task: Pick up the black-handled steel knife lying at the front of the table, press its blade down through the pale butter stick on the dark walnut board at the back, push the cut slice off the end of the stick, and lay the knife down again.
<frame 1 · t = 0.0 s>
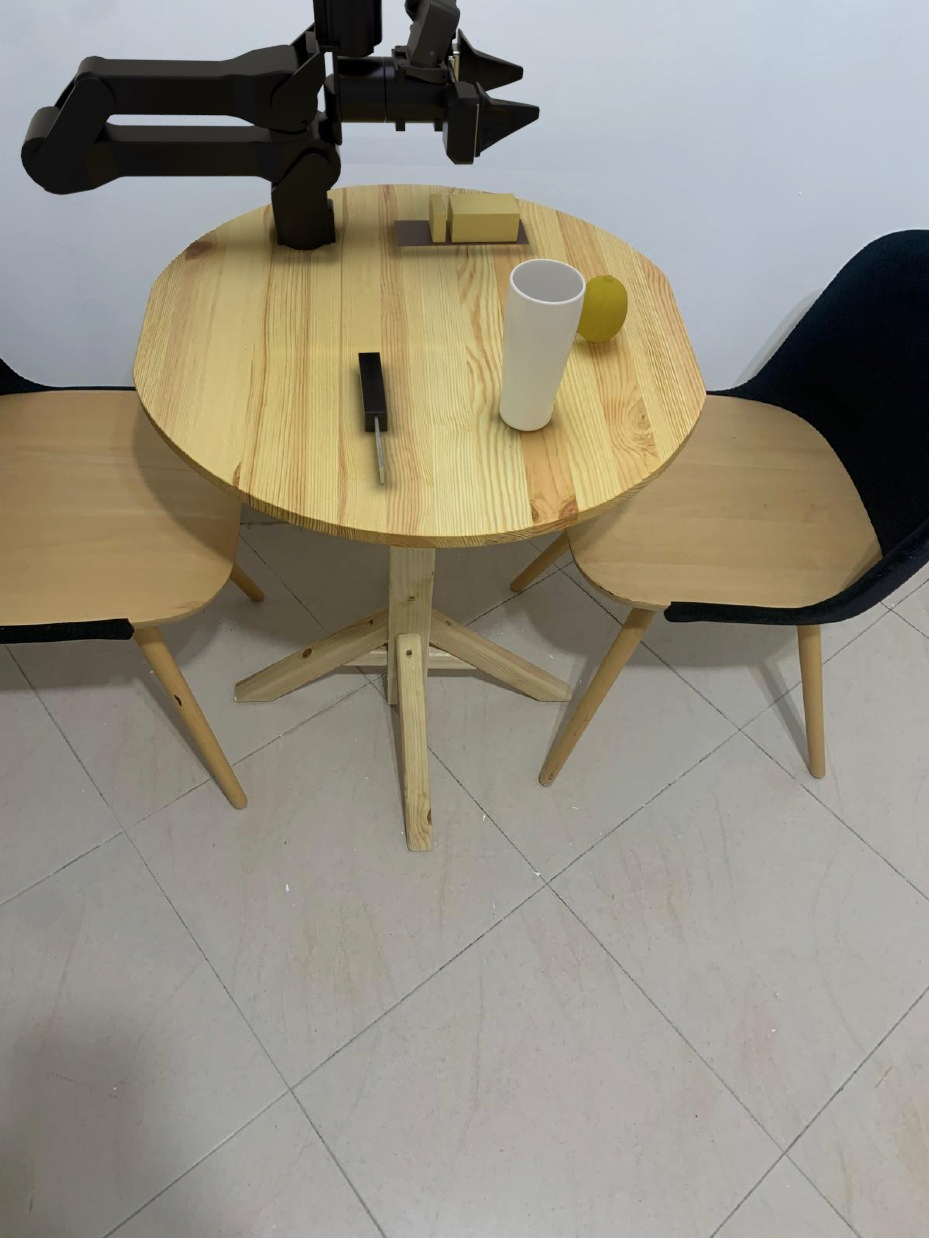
hand: (530, 92, 82), 17 cm above the table, tool horizontal, fingers open, 9 cm apart
butter stick: (481, 232, 95), point 1 cm above the table, touching board
knife: (381, 472, 73), on the table
drinking glass: (524, 417, 78), on the table
butter slice: (436, 232, 94), point 1 cm above the table, touching board
lemon: (592, 343, 86), on the table
board: (460, 240, 95), on the table
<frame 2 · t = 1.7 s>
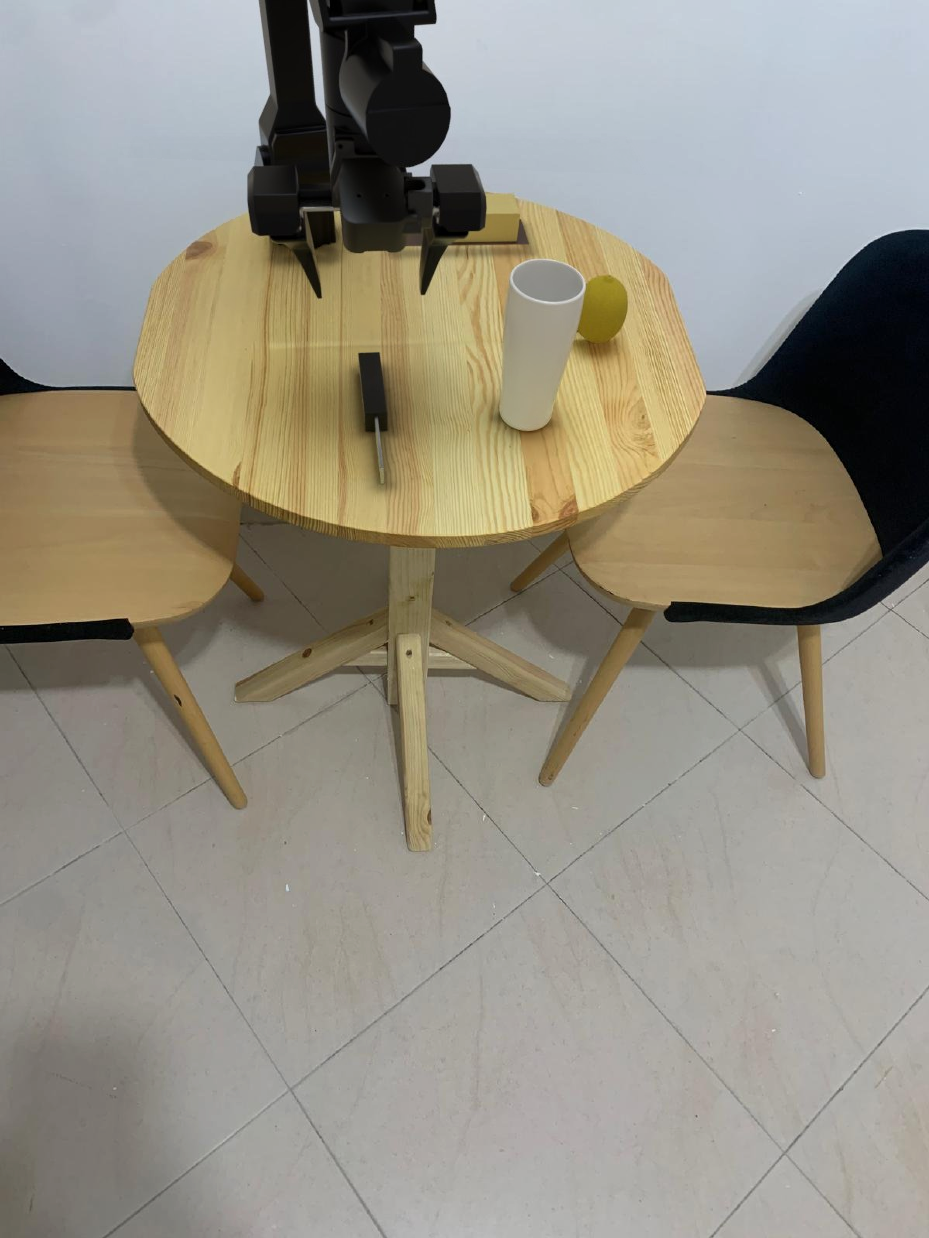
hand: (371, 294, 69), 11 cm above the table, tool pointing down, fingers open, 9 cm apart
nothing on the table moved.
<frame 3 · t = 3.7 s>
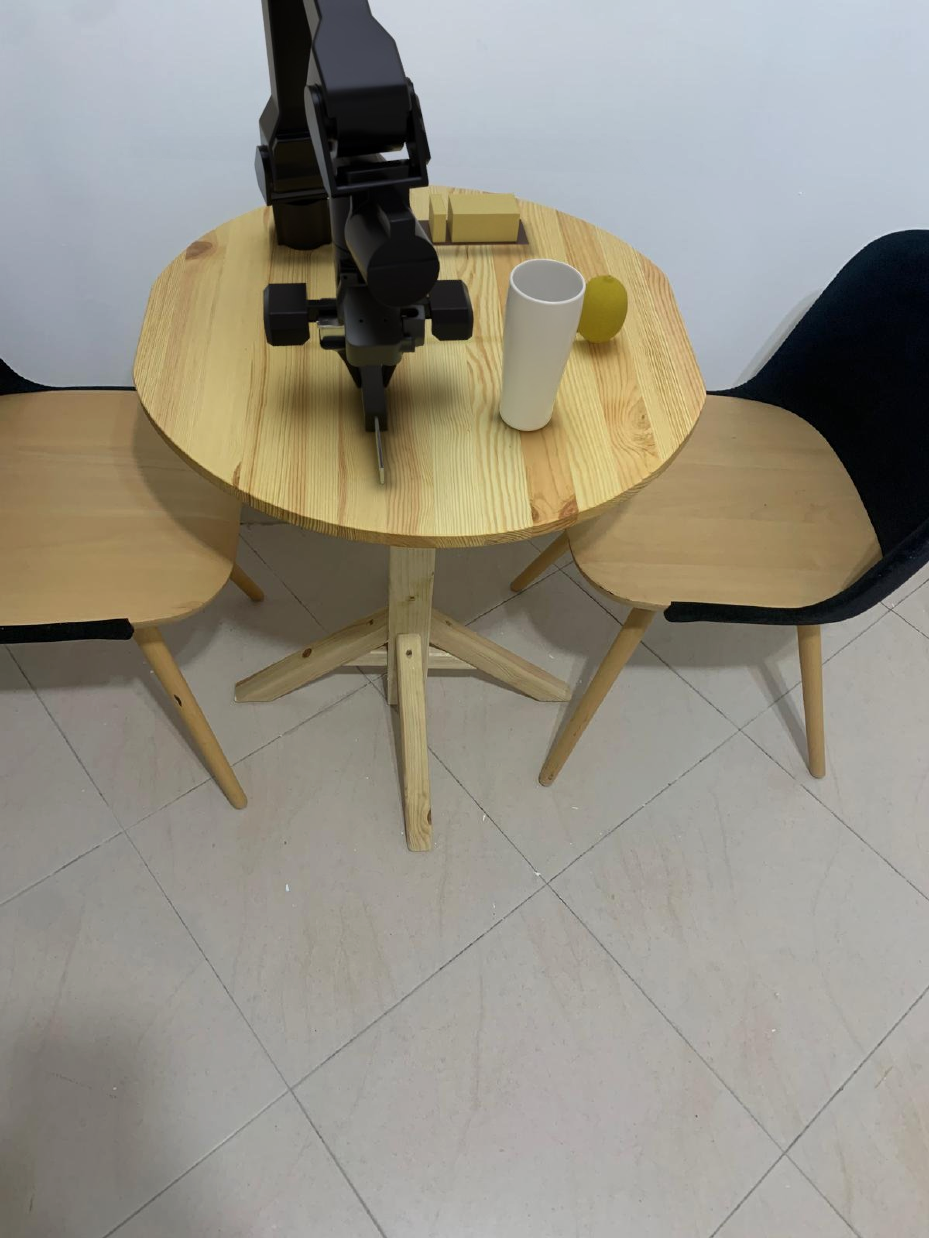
hand: (371, 385, 78), 1 cm above the table, tool pointing down, fingers closed on knife, 2 cm apart
knife: (381, 472, 73), on the table, touching gripper
everything else where it was.
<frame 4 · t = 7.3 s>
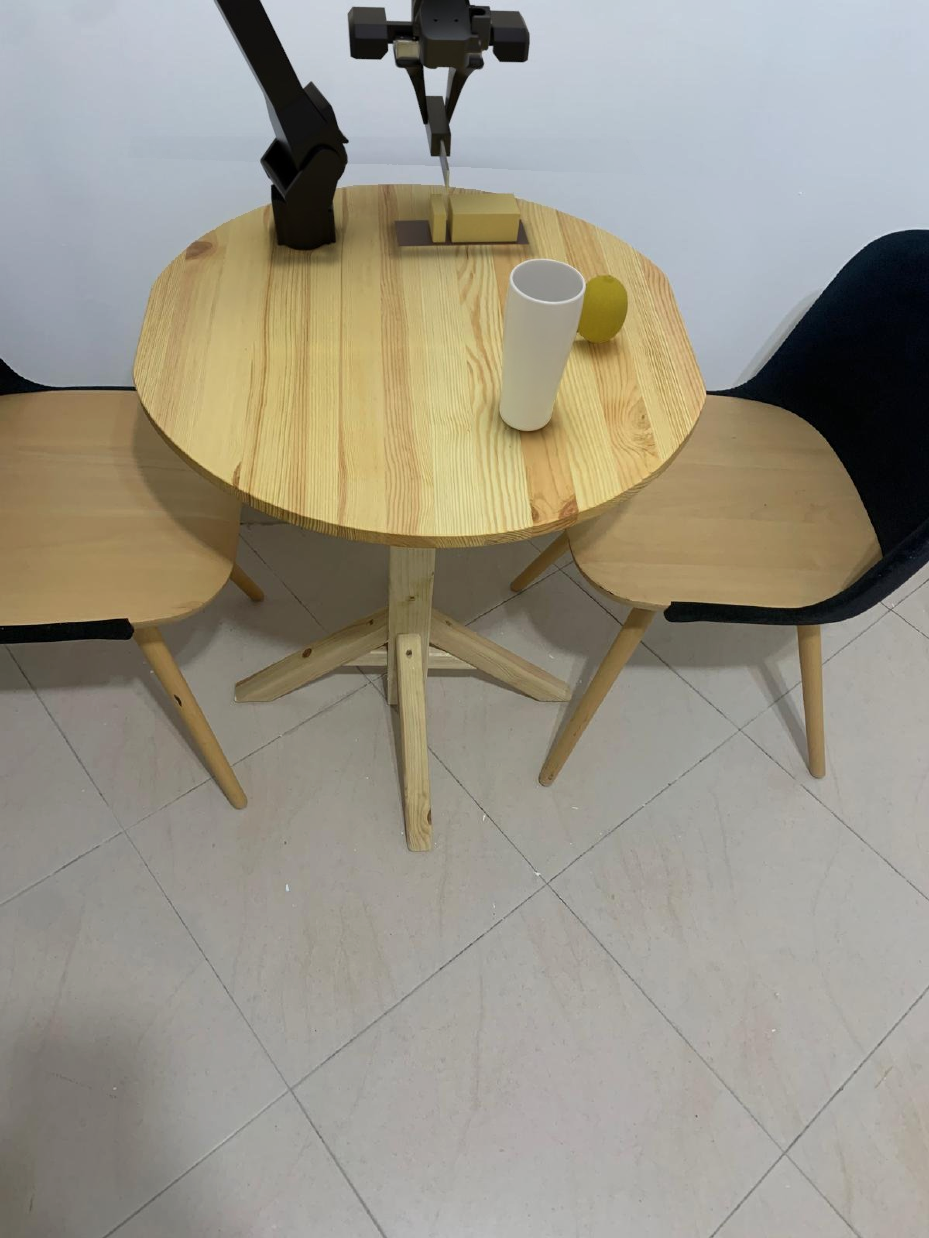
hand: (435, 123, 88), 11 cm above the table, tool pointing down, fingers closed on knife, 2 cm apart
knife: (445, 183, 83), point 10 cm above the table, touching gripper
everything else where it was.
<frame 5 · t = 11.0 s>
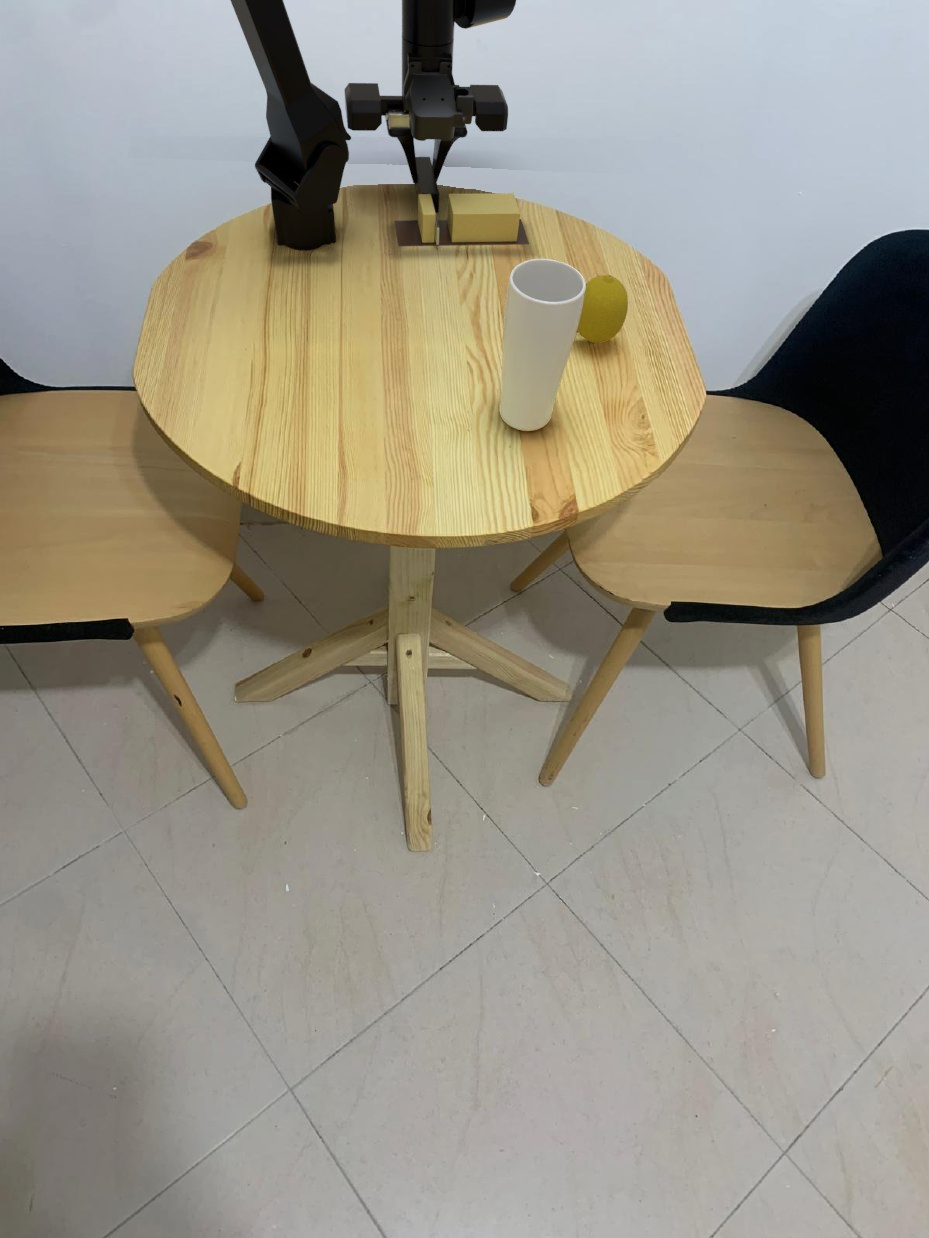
hand: (424, 182, 98), 2 cm above the table, tool pointing down, fingers closed on knife, 2 cm apart
knife: (435, 238, 92), point 2 cm above the table, touching gripper
butter slice: (426, 232, 94), point 1 cm above the table, touching board
everything else where it was.
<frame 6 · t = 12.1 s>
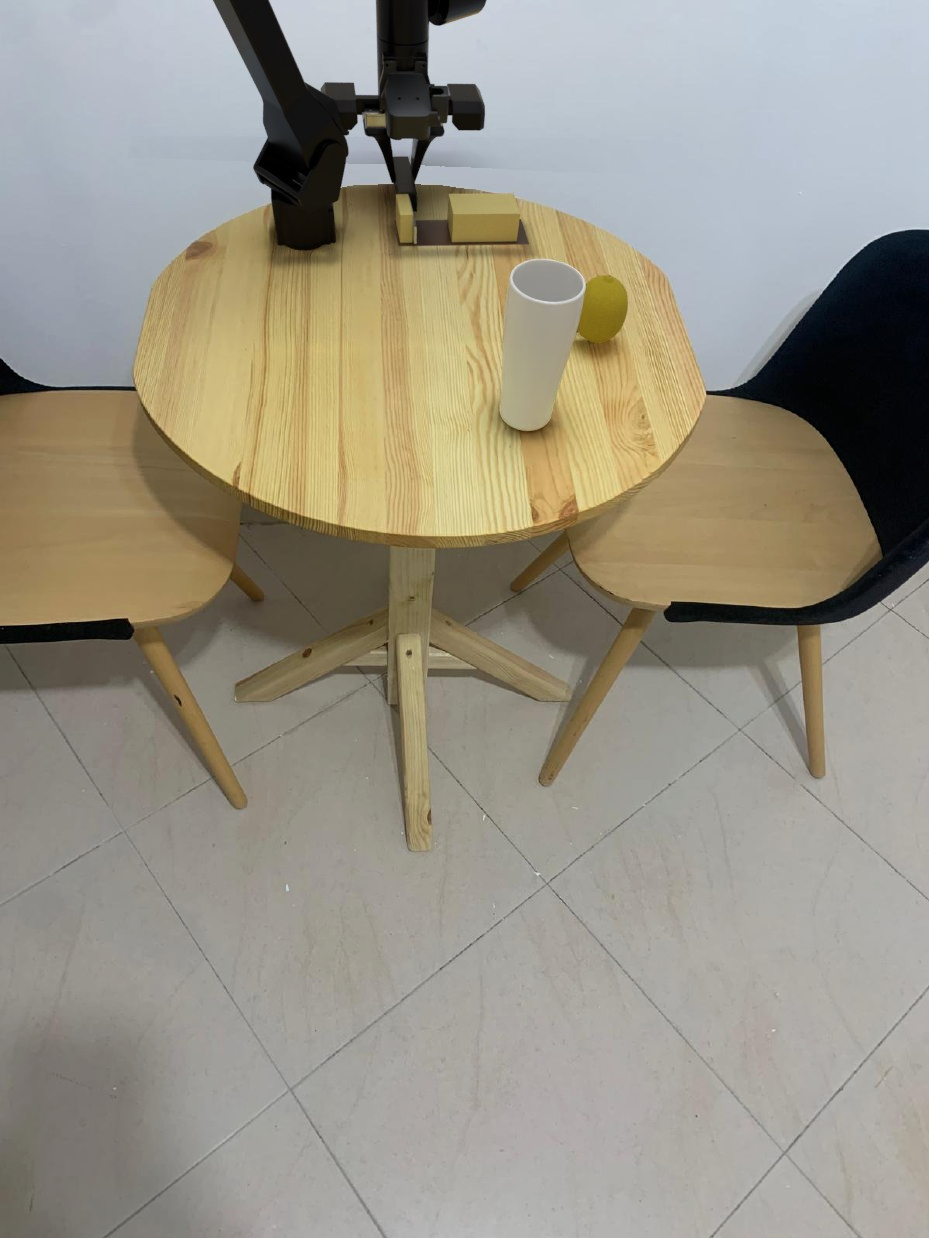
hand: (402, 181, 97), 2 cm above the table, tool pointing down, fingers closed on knife, 2 cm apart
knife: (413, 237, 92), point 2 cm above the table, touching butter slice, gripper
butter slice: (404, 233, 93), point 1 cm above the table, touching board, knife
everything else where it was.
when the fingers open (1 cm above the table, at t = 18.4 s): knife stays where it is, on the table.
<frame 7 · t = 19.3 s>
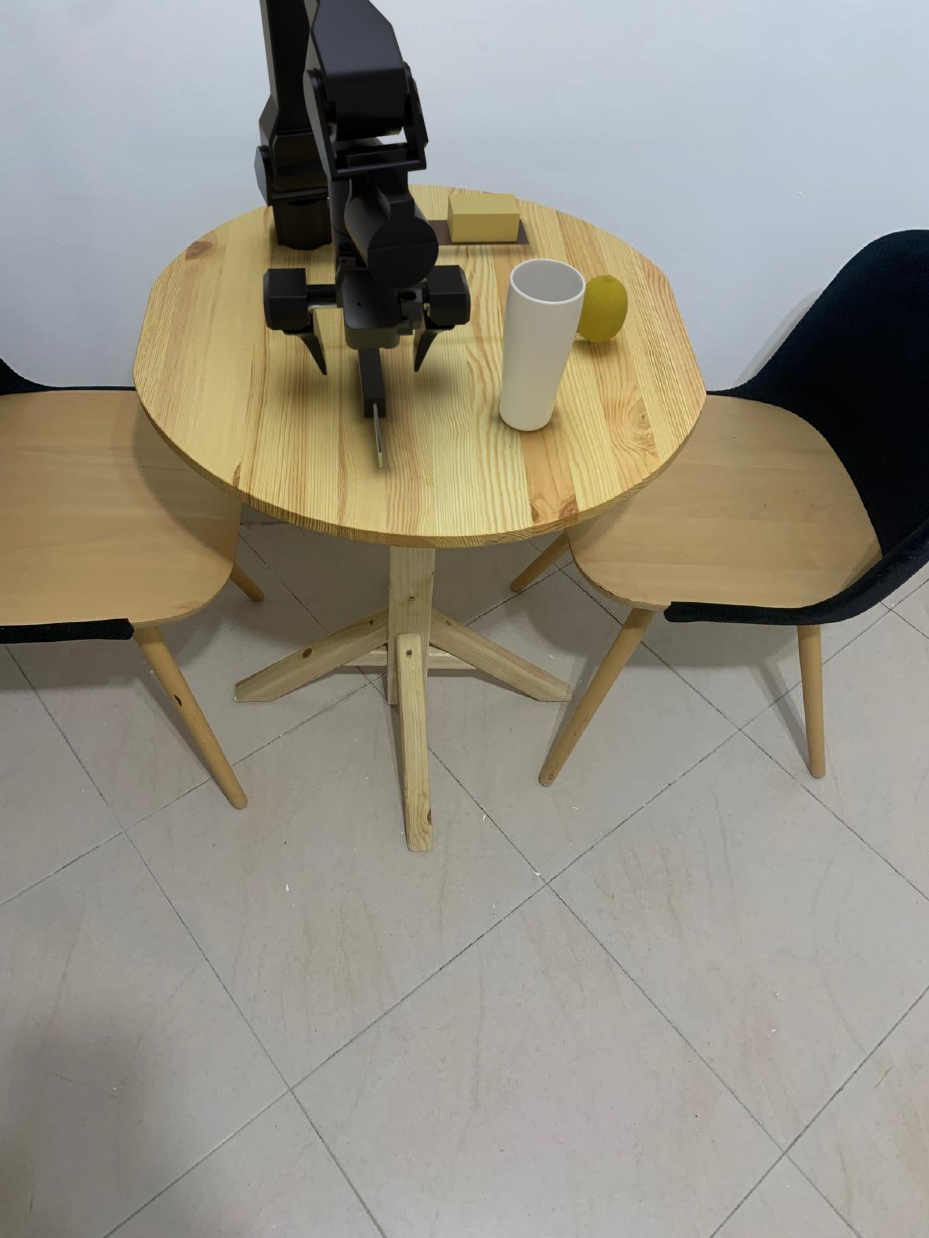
hand: (370, 371, 79), 1 cm above the table, tool pointing down, fingers open, 9 cm apart
knife: (379, 457, 74), on the table
butter slice: (403, 232, 93), point 1 cm above the table, touching board
everything else where it was.
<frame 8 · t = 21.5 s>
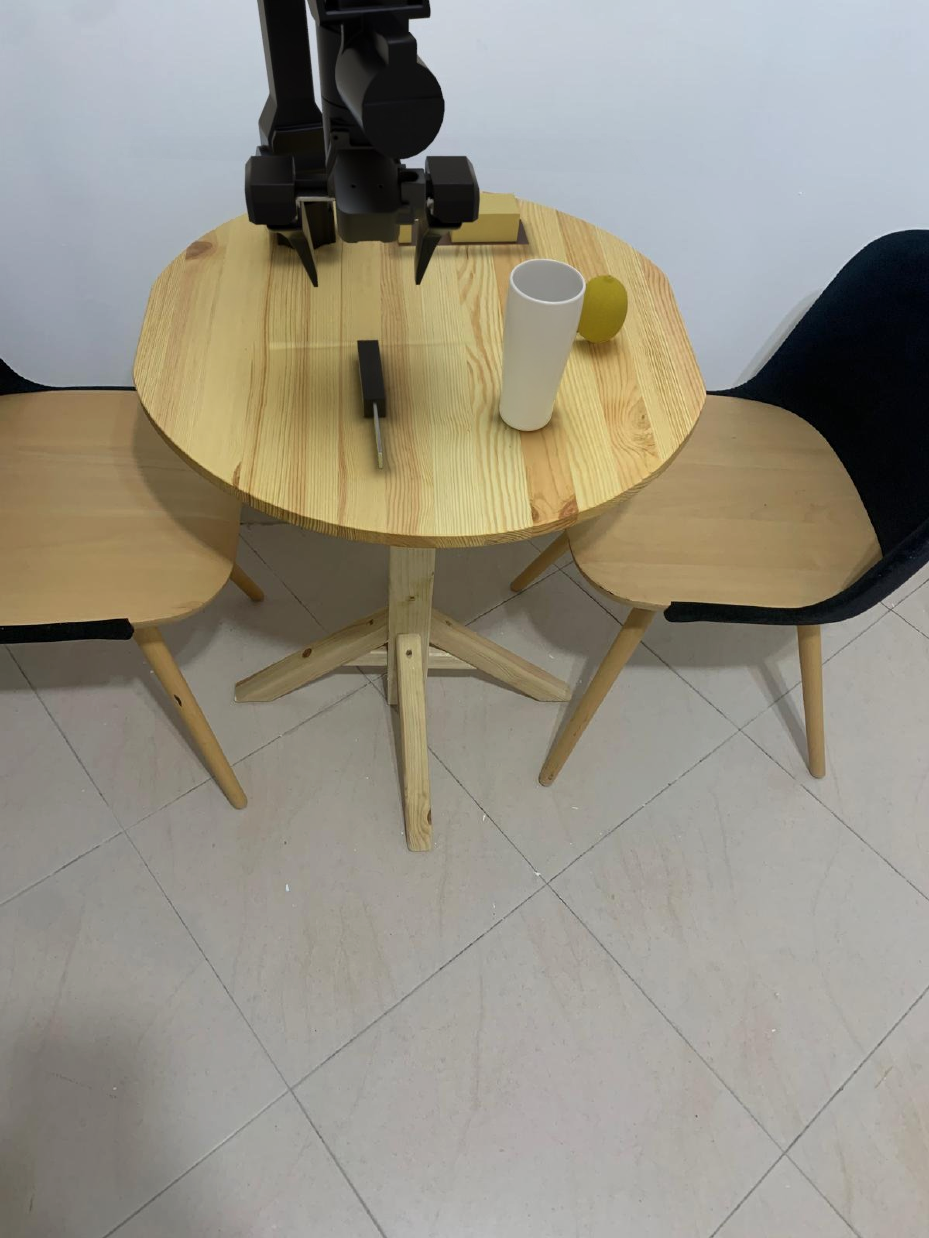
hand: (367, 283, 71), 11 cm above the table, tool pointing down, fingers open, 9 cm apart
nothing on the table moved.
at the end: butter slice moved 4.1 cm from its start; butter stick moved 0.0 cm from its start; the gripper is holding nothing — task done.
